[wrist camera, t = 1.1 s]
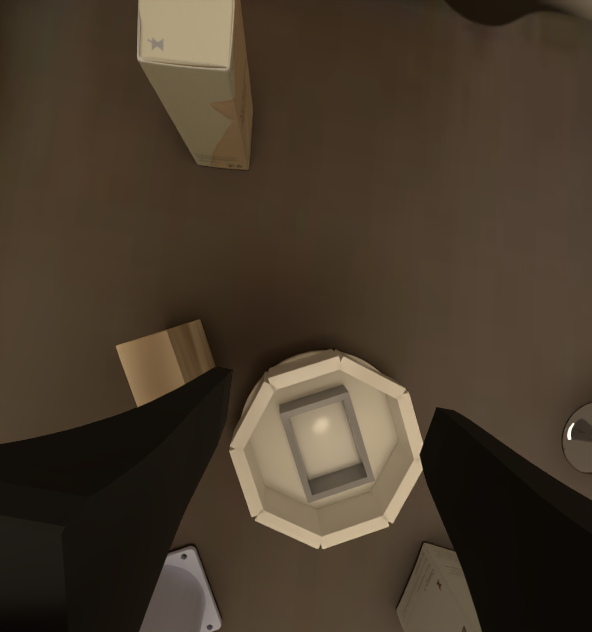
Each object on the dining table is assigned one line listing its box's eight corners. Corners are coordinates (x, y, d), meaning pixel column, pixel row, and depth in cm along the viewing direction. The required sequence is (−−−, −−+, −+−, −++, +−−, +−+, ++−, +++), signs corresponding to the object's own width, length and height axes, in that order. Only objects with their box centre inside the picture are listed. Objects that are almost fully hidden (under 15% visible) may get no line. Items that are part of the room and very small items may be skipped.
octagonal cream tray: (268, 530, 28) (267, 571, 24) (217, 379, 26) (207, 394, 22) (420, 479, 28) (444, 509, 24) (377, 328, 27) (395, 334, 23)
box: (249, 171, 25) (229, 77, 14) (195, 166, 25) (132, 64, 14) (253, 104, 25) (237, -46, 14) (199, 97, 25) (137, -62, 14)
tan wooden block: (184, 386, 26) (144, 426, 18) (164, 329, 26) (115, 346, 18) (218, 375, 26) (194, 410, 18) (200, 319, 26) (166, 330, 18)
